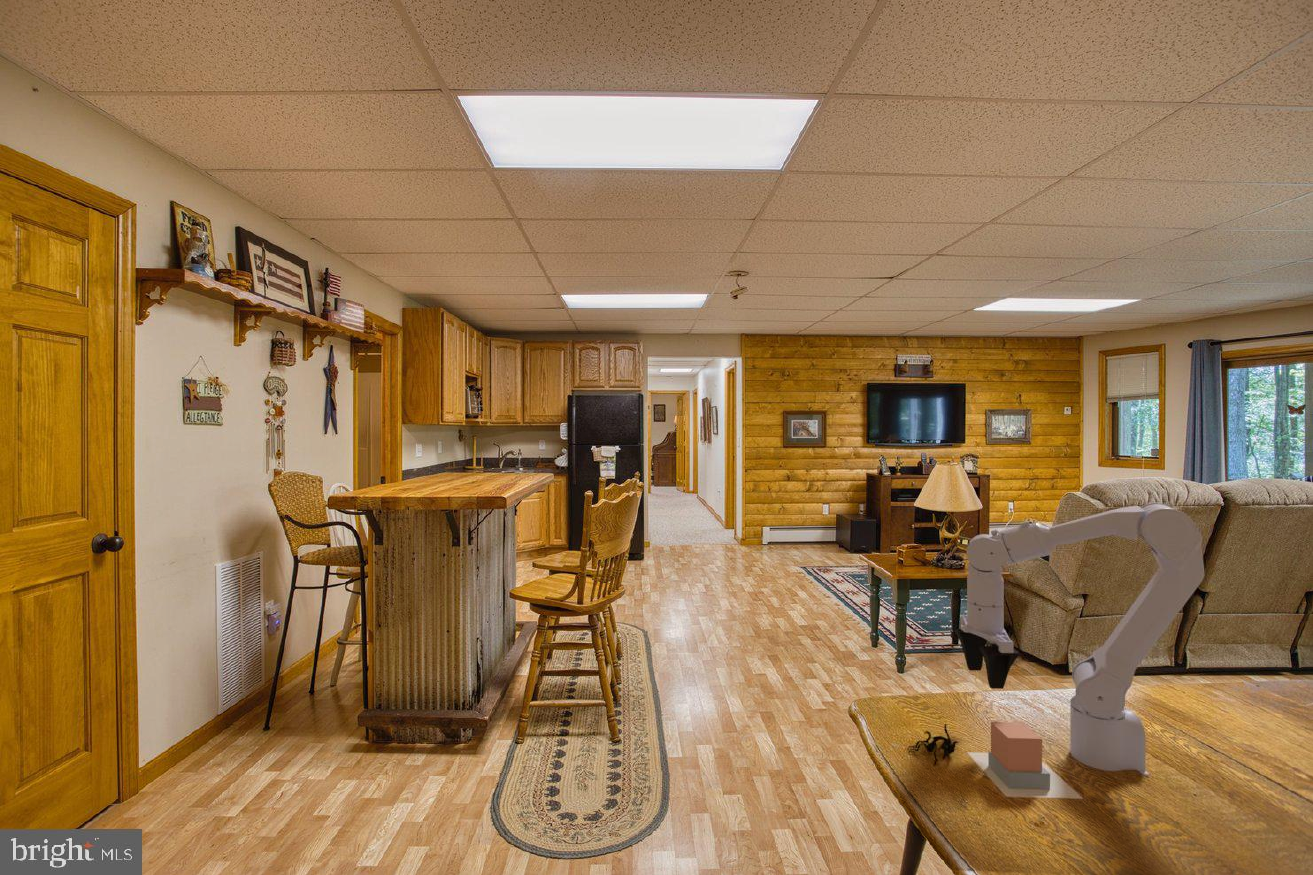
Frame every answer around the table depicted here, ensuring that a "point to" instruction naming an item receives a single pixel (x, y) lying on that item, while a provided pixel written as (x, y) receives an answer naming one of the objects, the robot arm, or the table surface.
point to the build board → (1056, 789)
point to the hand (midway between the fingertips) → (985, 678)
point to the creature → (933, 744)
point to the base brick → (1019, 776)
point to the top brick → (1016, 746)
